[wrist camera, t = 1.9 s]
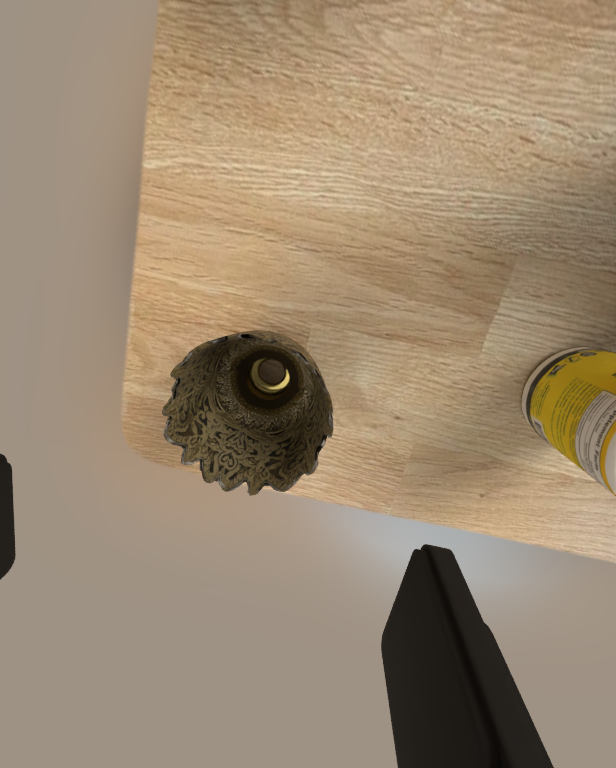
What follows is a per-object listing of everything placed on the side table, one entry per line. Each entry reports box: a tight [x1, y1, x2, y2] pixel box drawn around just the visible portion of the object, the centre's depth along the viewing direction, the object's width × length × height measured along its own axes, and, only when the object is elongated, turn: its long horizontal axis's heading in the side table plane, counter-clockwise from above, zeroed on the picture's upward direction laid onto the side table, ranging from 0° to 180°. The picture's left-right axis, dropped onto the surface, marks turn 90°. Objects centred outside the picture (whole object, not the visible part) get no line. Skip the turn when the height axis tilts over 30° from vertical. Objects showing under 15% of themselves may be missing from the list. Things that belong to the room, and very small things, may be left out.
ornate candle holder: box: [162, 331, 333, 495], centre depth 19 cm, size 8×7×8 cm
